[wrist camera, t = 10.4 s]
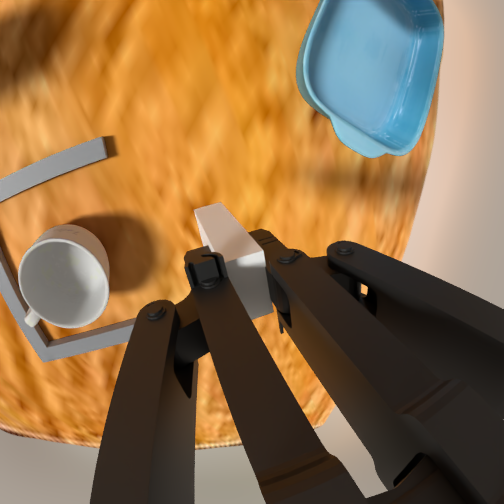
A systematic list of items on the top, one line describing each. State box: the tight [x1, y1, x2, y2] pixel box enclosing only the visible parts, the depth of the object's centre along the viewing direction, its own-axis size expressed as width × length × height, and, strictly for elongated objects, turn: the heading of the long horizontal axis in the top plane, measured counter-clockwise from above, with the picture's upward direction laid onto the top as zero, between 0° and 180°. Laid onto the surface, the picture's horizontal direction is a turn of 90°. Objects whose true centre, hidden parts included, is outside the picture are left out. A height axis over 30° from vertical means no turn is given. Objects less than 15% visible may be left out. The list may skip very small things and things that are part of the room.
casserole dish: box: [296, 0, 444, 158], centre depth 30 cm, size 37×22×7 cm, turn 159°
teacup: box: [18, 224, 109, 328], centre depth 28 cm, size 14×11×8 cm
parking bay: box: [0, 137, 136, 362], centre depth 31 cm, size 21×26×2 cm
